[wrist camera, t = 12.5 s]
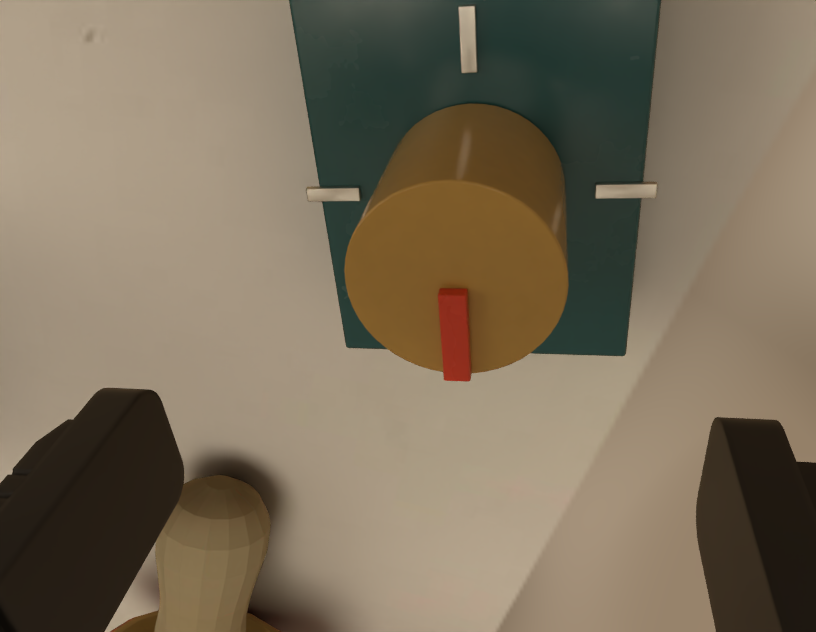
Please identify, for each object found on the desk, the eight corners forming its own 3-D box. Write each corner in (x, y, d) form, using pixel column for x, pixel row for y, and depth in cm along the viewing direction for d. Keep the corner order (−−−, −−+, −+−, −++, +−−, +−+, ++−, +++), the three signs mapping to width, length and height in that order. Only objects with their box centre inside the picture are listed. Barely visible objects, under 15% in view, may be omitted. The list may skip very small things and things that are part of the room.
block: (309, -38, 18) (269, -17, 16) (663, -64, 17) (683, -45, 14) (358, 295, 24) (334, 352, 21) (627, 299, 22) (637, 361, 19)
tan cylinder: (377, 105, 17) (324, 188, 13) (568, 99, 16) (573, 185, 12) (395, 268, 19) (354, 379, 15) (562, 269, 18) (565, 387, 14)
